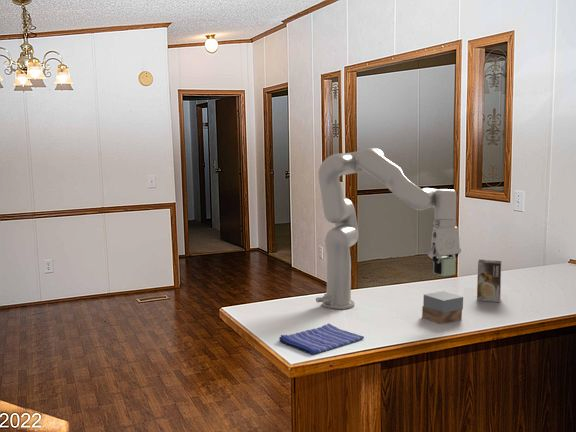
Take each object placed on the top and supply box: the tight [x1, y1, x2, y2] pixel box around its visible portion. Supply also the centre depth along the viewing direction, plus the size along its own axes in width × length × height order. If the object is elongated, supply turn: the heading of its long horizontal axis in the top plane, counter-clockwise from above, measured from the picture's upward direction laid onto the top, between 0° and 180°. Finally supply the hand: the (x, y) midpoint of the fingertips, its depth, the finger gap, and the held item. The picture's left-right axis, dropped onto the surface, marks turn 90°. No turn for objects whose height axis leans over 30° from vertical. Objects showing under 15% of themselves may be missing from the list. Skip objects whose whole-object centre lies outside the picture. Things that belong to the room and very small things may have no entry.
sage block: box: [432, 255, 457, 277], centre depth 225 cm, size 6×6×6 cm
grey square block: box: [422, 290, 464, 313], centre depth 227 cm, size 10×10×4 cm
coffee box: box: [476, 259, 502, 303], centre depth 253 cm, size 9×6×16 cm
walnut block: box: [421, 305, 463, 325], centre depth 227 cm, size 10×10×4 cm
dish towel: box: [278, 323, 365, 356], centre depth 203 cm, size 17×24×3 cm
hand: (444, 272), depth 225 cm, fingers closed on sage block, 5 cm apart
